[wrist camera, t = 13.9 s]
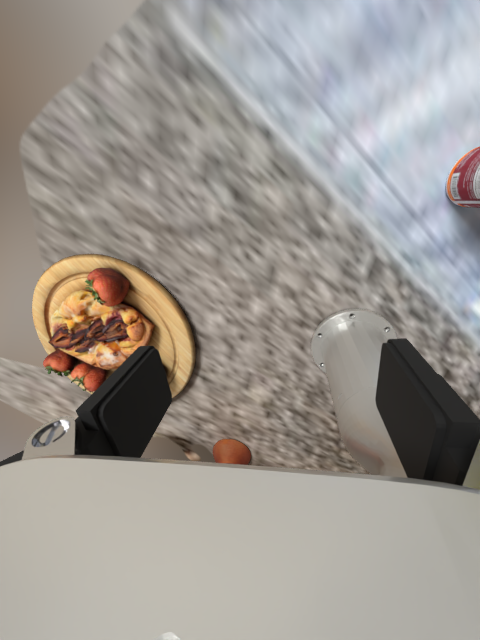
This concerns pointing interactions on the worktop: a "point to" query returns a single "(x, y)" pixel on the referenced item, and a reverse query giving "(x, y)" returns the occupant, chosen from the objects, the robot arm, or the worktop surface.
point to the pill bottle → (465, 180)
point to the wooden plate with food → (108, 321)
